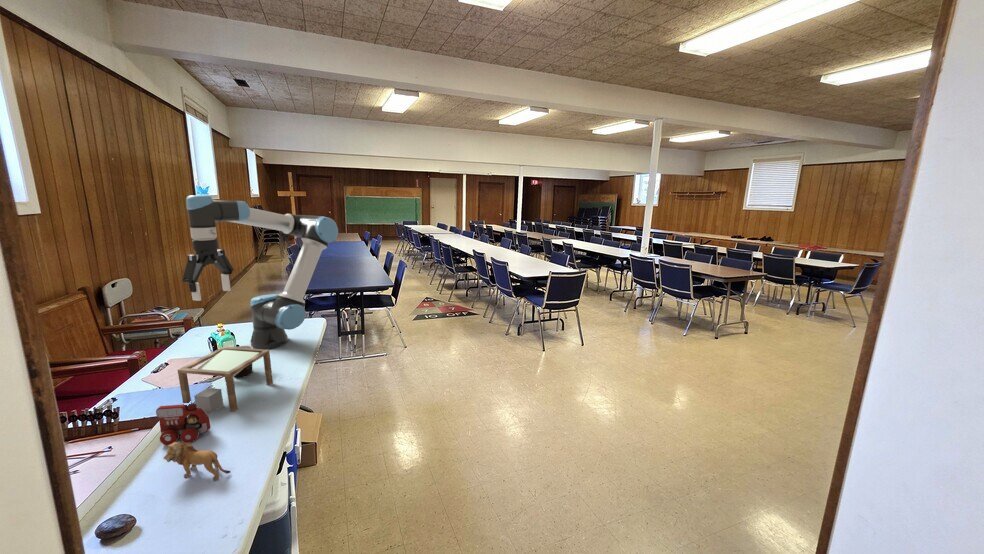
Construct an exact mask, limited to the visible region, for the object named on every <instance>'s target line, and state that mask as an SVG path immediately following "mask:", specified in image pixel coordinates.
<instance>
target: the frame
mask: <svg viewBox="0 0 984 554" xmlns="http://www.w3.org/2000/svg"><path fill="white" fill-rule="evenodd" d="M237 347H238V346H235V347H234V346H222V347H220V348H218V349H216V350H214V351H213V352H210V353H208V354H207V355H206V354H205V355H204V356H202V357H200V358H198V359H197V360H194V361H191V363H188V364H186V365H184V366H182V367H181V368H179V369H177V374H178V380H179V386H180V393H181V397H182V398H181V400H182V404H183V403H189V402H190V401H191V402H192V397H191V392H190V386H189V384H190V383H189V380H188V374H190V375H191V374H192V375H200V376H201V375H202V376H203V375H204V376H215V377H224V382H225V385H226V393H227V399H228V400H227V401H228V406H229V412H231V413H232V412H233V413H234V412H236V411H238V410H239V408H238V400H237V396H236V394H237V393H236V387H235V377H233V374H235V373H237V372H238V371H240V370H242V369H243V368H245V367H247V366H248V365H250V364H252V365H253V363H255V362H257V361H258V360H260V359H261V358H263V366H264V374H265V376H264V377H265V384H266V386H271V385H272V384H274V381H273V374H272V363H271V362H272V361H271V355H270V354H271V353H270V349H255V348H253V349H250V348H237ZM222 350H234V351H247V352H260V353H259V354H257V355H256V356H254V357H252V358H251V359H249V360H247V361H245V362H244V363H242V364H240V365H239V366H237V367H235V368H234V369H232V370H230V371H229V372H228V371H216V370H204V369H198V368H195V367H197V366H198V365H200V364H201V365H202V363H205V362H207V361H209V360H210V359H211V358H213V357H214V356H215V355H217V354H218V353H220V352H221V351H222Z"/></svg>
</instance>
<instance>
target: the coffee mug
mask: <svg viewBox="0 0 984 554" xmlns="http://www.w3.org/2000/svg"><path fill="white" fill-rule="evenodd" d="M236 347H237V348H250V349H254V348H253V347H251V345H241V346H240V345H239V346H236ZM251 374H253V363H252V364H250V365H248V366H247V367H245V368H244V369H242V370H241V371H240V372H239V373H238V374H236V375H235V376H234V377H233V378H234V379H235V378H236V379H238V378H239V379H240V378H246V377H248V376H251Z"/></svg>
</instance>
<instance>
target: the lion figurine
mask: <svg viewBox="0 0 984 554" xmlns="http://www.w3.org/2000/svg"><path fill="white" fill-rule="evenodd" d="M163 460H165V461H166V462H167V463H170V462H173V463H177V465H181V466H182V467H183V469H184V471H185V472H186V473H184V474H183V478H185V479H186V478H189V477H190V476H191V474H192V473H191V472H192V471H193V470H196V469H197V466H202V465H203V466H204V468H205V469H206V471H207V472H208V473H210V474H212V475H213V478H212V480H213V481H218V479H220V475H219V473H218V471H219V470H220V471H221V472H222V473H223V474H231V470H227V469H224V468H223V467H222V466H221V464H220V462H219V460H218V455H217V452H215V451H213V450H211V449H210V450H201V449H196V448H195V447H194V446H193V444H192V443H185V442H183V441H176V442H174V443H172V444H170V445H167V451H166V454H165V456H163ZM213 466H214V467H213Z"/></svg>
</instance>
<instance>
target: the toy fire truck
mask: <svg viewBox="0 0 984 554" xmlns="http://www.w3.org/2000/svg"><path fill="white" fill-rule="evenodd" d="M196 407H197V406H196V403H194V402H191V404H189V405H188V406H187V405H184V404H183V403H182V404H172V405H171V404H170V405H168V404H167V405H160V406H159V407H157V408H156V410H155V414H156V417H157V418H158V422H159V427H160V435H159V441H160V443H161V444H162V445H165V446H168V445H170V444H172V443H174V442H177V441H178V439H179V438H180V441H181V442H184V443H187V444H192V443H194V442H195V441H196V440H197V439H198V438H199V433H207V432H208V431H209V430H211V420H210V417H209V416H208V415H207V413H205V412H204V411H203V410H202V409H201V408H196ZM179 435H180V437H179Z"/></svg>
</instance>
